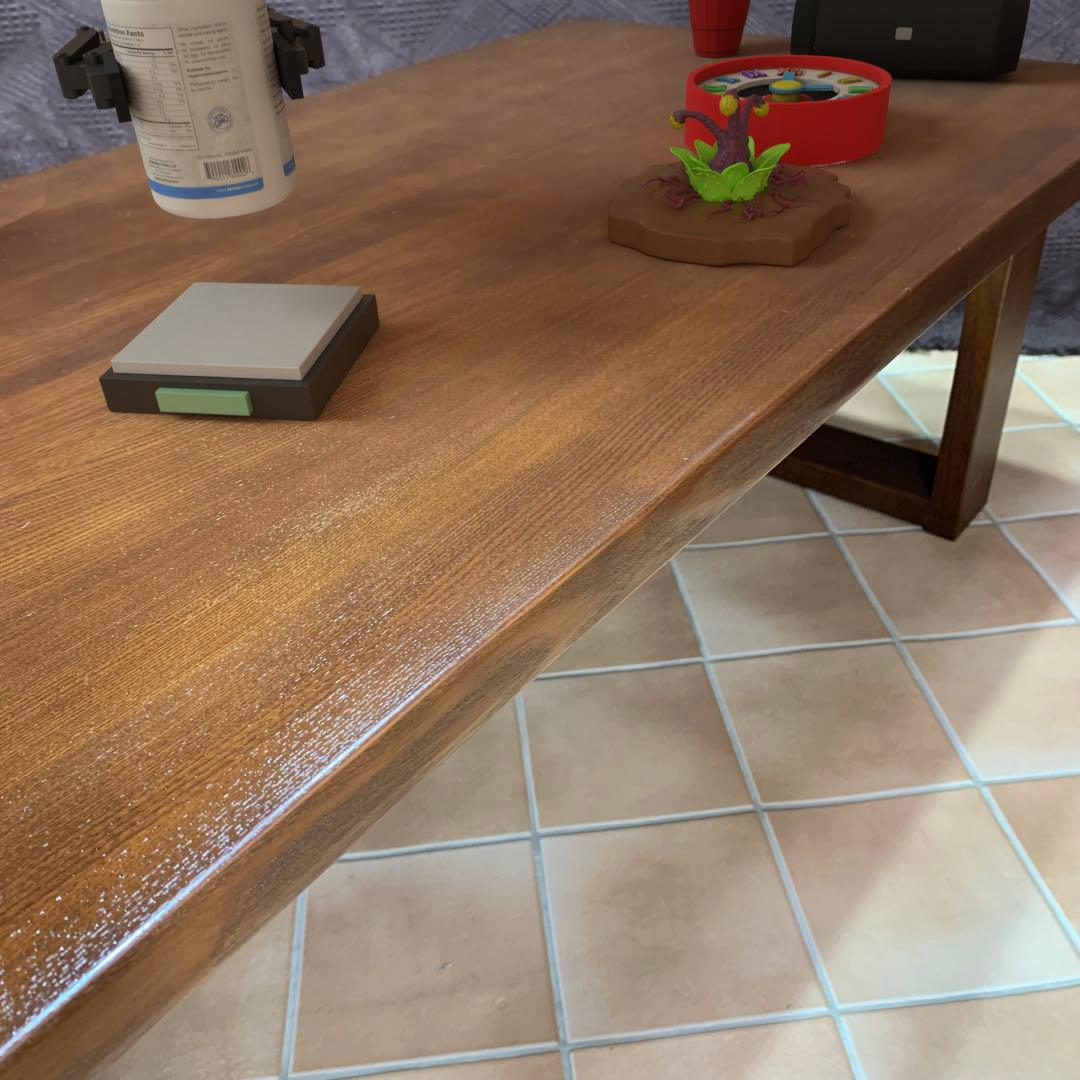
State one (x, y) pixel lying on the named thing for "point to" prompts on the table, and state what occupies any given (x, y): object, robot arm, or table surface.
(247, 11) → the supplement tub
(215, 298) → the scale
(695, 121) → the toy clock
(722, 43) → the plastic cup
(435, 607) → the table surface
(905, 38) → the portable speaker
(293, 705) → the table surface
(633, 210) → the plant
